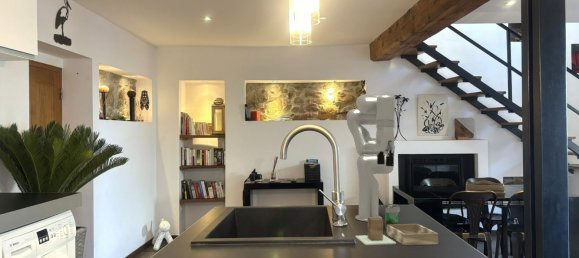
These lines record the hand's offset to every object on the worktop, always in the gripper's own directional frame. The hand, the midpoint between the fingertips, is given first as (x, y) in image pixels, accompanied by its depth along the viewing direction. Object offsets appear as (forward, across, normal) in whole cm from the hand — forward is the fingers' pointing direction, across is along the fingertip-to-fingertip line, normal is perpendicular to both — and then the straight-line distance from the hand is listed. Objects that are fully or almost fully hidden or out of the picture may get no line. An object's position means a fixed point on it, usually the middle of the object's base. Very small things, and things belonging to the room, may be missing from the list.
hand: (385, 165), depth 171 cm
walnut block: (+28, +12, -9) cm, 32 cm away
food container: (+28, -6, +6) cm, 30 cm away
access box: (+28, +12, +6) cm, 31 cm away
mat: (+28, +12, -9) cm, 32 cm away
